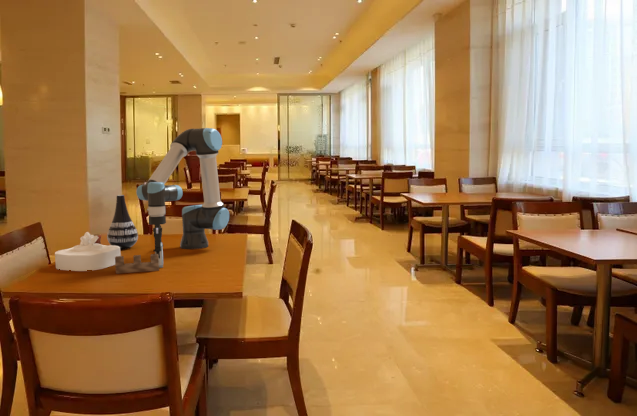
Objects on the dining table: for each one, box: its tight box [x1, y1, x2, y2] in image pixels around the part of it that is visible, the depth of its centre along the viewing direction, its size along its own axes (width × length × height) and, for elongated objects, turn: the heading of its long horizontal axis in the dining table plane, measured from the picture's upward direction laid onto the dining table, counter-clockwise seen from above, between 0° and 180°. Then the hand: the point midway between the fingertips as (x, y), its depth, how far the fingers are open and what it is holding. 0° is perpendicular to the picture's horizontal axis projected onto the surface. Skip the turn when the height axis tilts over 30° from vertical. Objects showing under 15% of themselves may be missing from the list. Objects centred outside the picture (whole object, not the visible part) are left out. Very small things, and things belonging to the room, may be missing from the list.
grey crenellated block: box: [114, 253, 160, 274], centre depth 234 cm, size 18×3×7 cm, turn 105°
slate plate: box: [159, 242, 164, 269], centre depth 245 cm, size 10×3×10 cm, turn 15°
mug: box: [90, 233, 102, 244], centre depth 272 cm, size 12×9×10 cm
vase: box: [106, 194, 139, 251], centre depth 289 cm, size 16×16×30 cm
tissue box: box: [54, 231, 122, 272], centre depth 249 cm, size 25×25×16 cm
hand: (159, 262), depth 245 cm, fingers closed on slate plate, 10 cm apart
